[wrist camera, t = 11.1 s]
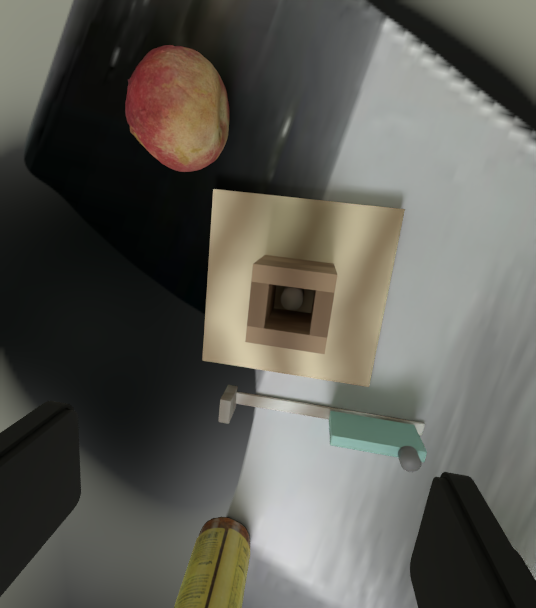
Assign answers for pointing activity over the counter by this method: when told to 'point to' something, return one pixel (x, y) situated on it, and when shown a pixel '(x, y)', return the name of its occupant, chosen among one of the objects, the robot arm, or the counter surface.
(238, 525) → the sauce bottle
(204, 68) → the fruit
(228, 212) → the seat
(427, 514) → the robot arm
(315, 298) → the block
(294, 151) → the counter surface
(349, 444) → the bar
